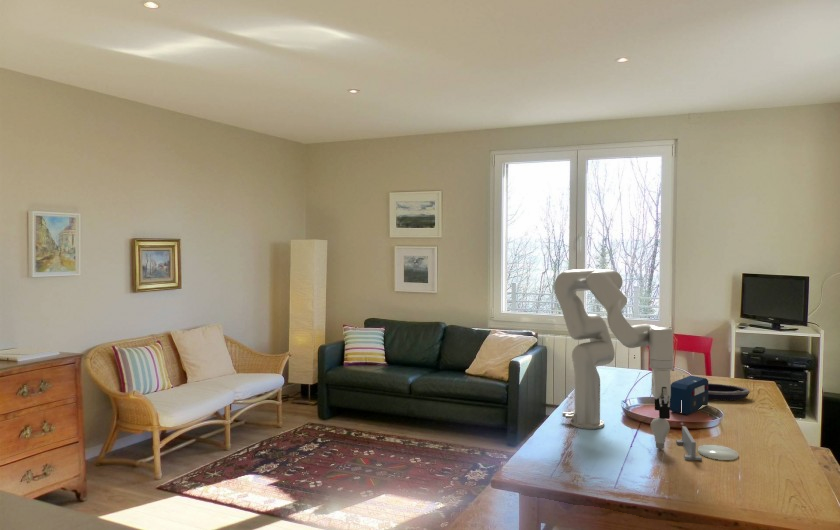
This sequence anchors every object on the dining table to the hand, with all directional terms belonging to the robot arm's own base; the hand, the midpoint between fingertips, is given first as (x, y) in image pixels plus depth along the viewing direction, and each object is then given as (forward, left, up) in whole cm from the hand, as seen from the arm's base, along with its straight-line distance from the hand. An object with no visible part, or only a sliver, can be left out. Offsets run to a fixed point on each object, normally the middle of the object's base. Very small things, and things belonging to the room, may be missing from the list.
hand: (662, 414), depth 199 cm
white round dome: (+17, 0, -12) cm, 21 cm away
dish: (+31, +73, -13) cm, 80 cm away
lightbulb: (-1, 0, -13) cm, 13 cm away
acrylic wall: (+8, +1, -12) cm, 15 cm away
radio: (+18, +50, -13) cm, 55 cm away
